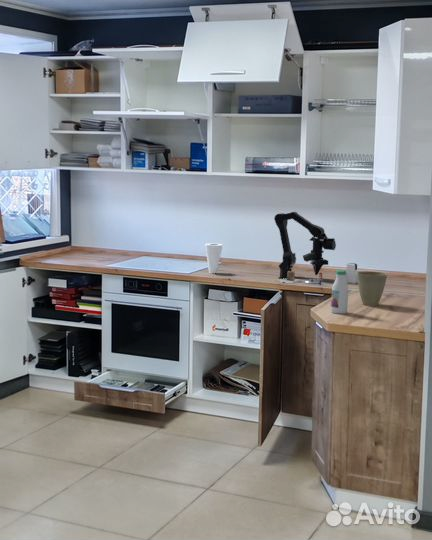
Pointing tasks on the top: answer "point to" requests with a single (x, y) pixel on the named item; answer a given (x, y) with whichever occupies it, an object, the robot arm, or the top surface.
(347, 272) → the medicine bottle
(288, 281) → the tray
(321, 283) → the crank plate
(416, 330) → the top surface
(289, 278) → the block
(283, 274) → the robot arm
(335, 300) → the milk bottle
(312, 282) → the crank
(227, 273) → the top surface
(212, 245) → the cup
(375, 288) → the plant pot
